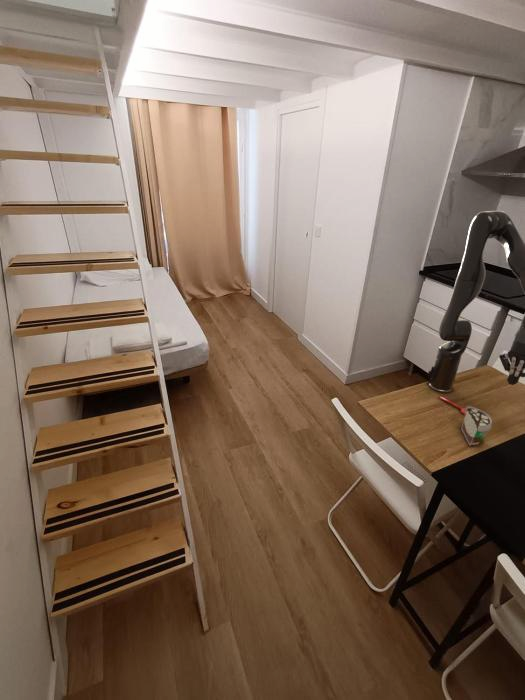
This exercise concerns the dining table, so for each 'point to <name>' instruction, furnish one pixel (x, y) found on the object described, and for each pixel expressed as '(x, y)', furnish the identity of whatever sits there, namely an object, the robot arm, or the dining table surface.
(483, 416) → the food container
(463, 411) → the spoon
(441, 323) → the robot arm
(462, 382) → the dining table surface
